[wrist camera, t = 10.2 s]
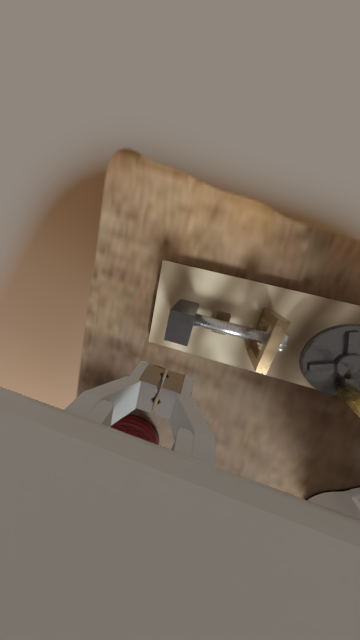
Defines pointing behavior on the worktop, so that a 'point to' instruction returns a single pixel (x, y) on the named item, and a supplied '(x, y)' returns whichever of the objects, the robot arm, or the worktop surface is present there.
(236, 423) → the worktop surface
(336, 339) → the handwheel
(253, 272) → the worktop surface
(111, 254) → the worktop surface
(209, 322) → the hammer
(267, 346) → the eye post
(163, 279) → the board
